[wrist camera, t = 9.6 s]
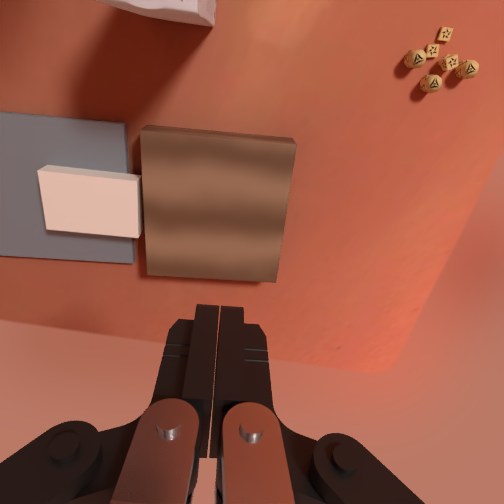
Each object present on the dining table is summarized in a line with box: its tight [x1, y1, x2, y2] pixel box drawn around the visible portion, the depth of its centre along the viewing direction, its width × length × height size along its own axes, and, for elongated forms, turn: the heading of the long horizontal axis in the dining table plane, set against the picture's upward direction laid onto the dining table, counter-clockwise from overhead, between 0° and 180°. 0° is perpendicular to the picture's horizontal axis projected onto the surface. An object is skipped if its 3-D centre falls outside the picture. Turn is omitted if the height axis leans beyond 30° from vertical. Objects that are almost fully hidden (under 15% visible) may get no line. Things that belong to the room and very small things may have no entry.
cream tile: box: [37, 165, 143, 238], centre depth 36 cm, size 6×9×2 cm, turn 83°
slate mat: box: [0, 111, 135, 264], centre depth 36 cm, size 15×16×1 cm
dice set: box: [404, 27, 479, 93], centre depth 32 cm, size 5×5×2 cm
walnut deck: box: [140, 125, 297, 283], centre depth 37 cm, size 15×14×3 cm
